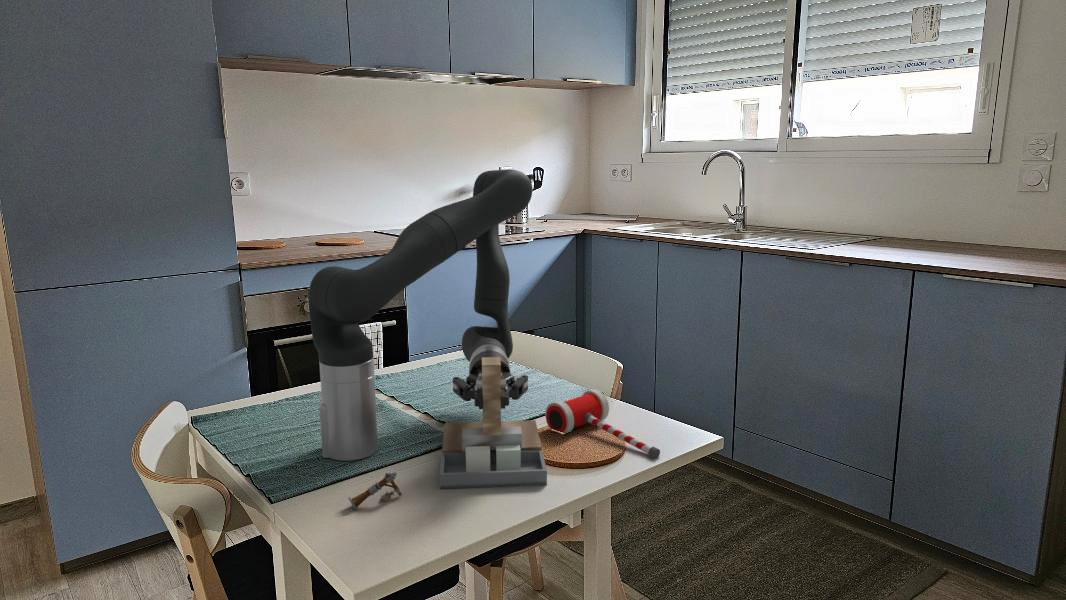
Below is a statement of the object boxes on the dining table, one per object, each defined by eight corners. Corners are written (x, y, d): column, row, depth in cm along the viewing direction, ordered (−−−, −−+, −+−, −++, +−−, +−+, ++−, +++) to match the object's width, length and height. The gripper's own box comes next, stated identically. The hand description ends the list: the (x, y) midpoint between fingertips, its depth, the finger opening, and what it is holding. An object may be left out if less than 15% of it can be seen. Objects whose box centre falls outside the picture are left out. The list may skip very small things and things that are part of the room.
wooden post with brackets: (408, 492, 112) (396, 470, 110) (363, 523, 109) (350, 501, 107) (404, 487, 114) (392, 466, 112) (360, 518, 111) (346, 496, 109)
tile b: (496, 467, 121) (496, 473, 119) (495, 445, 120) (496, 450, 118) (519, 466, 121) (520, 472, 119) (519, 445, 121) (520, 450, 119)
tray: (440, 489, 115) (439, 474, 114) (441, 466, 123) (441, 453, 122) (546, 484, 116) (546, 470, 116) (542, 463, 124) (542, 449, 123)
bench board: (442, 466, 123) (442, 450, 122) (444, 438, 134) (444, 423, 134) (541, 463, 124) (541, 447, 123) (535, 435, 136) (535, 420, 135)
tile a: (466, 468, 121) (466, 474, 119) (465, 446, 120) (465, 451, 118) (489, 467, 121) (490, 473, 119) (489, 445, 120) (489, 451, 118)
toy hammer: (677, 450, 130) (679, 417, 129) (635, 469, 122) (636, 434, 121) (586, 415, 147) (586, 385, 145) (544, 430, 139) (544, 399, 137)
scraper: (462, 452, 121) (460, 365, 115) (462, 442, 123) (460, 358, 118) (521, 450, 121) (522, 364, 116) (520, 440, 124) (521, 356, 119)
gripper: (450, 350, 131) (448, 382, 115) (527, 348, 133) (535, 380, 116) (451, 389, 133) (449, 426, 116) (527, 387, 134) (535, 423, 118)
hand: (492, 403), depth 116 cm, fingers closed on scraper, 3 cm apart
